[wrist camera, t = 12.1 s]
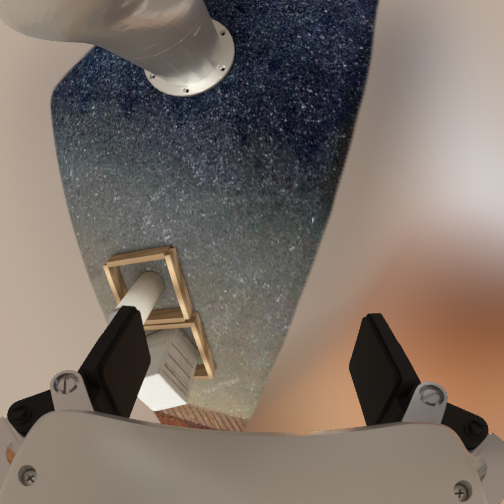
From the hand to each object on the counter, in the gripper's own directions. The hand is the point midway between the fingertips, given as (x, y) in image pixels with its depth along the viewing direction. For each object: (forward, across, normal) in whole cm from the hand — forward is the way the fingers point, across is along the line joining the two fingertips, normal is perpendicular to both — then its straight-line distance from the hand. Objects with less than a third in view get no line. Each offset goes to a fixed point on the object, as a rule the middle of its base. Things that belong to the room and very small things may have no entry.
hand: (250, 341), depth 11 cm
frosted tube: (+30, +16, +14) cm, 37 cm away
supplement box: (+30, +14, +27) cm, 42 cm away
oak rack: (+30, +15, +20) cm, 39 cm away
